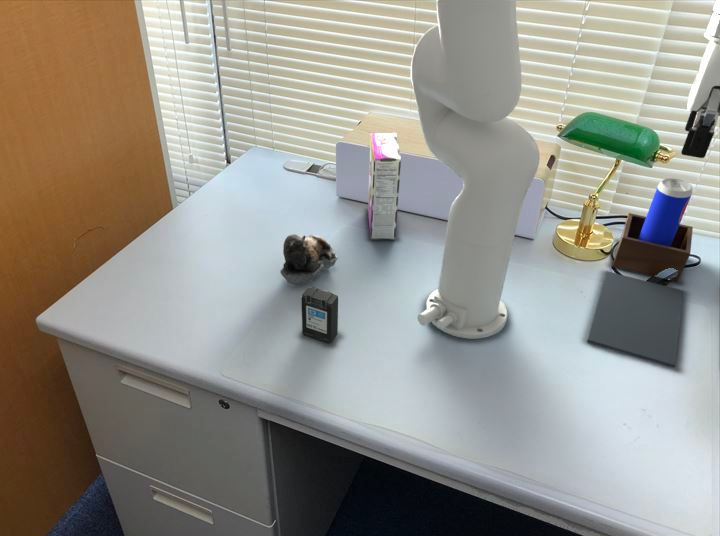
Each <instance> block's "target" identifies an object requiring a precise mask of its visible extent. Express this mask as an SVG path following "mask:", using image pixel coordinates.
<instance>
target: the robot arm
mask: <svg viewBox="0 0 720 536" xmlns="http://www.w3.org/2000/svg"><path fill="white" fill-rule="evenodd" d="M436 16H437V24H436V25H434V26H432V27H430V28H429V29H428V30H427V31H426V32H424V34H422V36H421V37H420V38H419V40H418V42H417V43H416V46H415V47H414V51H413V53H412V57H411V62H410V63H411V64H410V80H411V85H412V91H413V94H414V95H413V96H414V101H415V104H416V109H417V114H418V117H419V121H420V126H421V130H422V134H423V137H424V141H425V144H426V146H427V148H428V150H429V152H430V153H431V154H432V156H434V158H436V159H437V160H438V161H439V162H440V163H441V164H443V165H444V166H446V167H447V168H448V169H449V170H451V171H452V172H453V173H454V174H455V175H456V176H458V177H459V178H460V180H461V181H462V184H463V185H462V189H461V191H460V192H459V194H458V195H457V197H456V198H455V199H454V200H453V202H452V204H451V205H450V208H449V212H448V217H447V222H446V223H447V224H446V233H445V240H444V247H443V253H442V260H441V267H440V275H439V281H438V288H437V289H435V290H434V291H432V293H431V294H429V296H428V297H427V299H426V302H425V309H424V310H423V311H422V312H421V313H419V314H418V315H417V316H416V319H417V322H418V323H419V325H421V326H423V327H425V326H427V325H429V324H432V325H433V326H434V327H436V328H437V329H439V330H440V331H442V332H443V333H445V334H448V335H451V336H453V337H457V338H462V339H470V340H471V339H472V340H475V339H484V338H488V337H491V336H494V335H496V334H498V333H500V331H502V329H503V328H504V327H505V325H506V323H507V319H508V309H507V306H506V305H505V303H504V301H503V300H502V295H503V290H504V285H505V282H506V276H507V272H508V267H509V264H510V260H511V259H510V258H511V254H512V250H513V246H514V240H515V235H516V231H517V226H518V223H519V219H520V214H521V211H522V207H523V204H524V201H525V199H526V197H527V194H528V192H529V189H530V187H531V185H532V183H533V182H534V179H535V176H536V174H537V172H538V169H539V165H540V162H541V161H540V159H541V156H540V149H539V147H538V144H537V142H536V140H535V138H534V137H533V136H532V134H531V133H529V131H528V130H526V129H525V128H524V127H522V126H521V125H520V124H518V123H516V122H515V121H513V120H511V119H510V118H508V116H509V115H511V113H513V112H514V110H515V109H516V107H517V105H518V104H519V100H520V97H521V93H522V65H521V64H522V63H521V54H520V45H519V44H520V43H519V35H518V34H519V33H518V32H519V31H518V22H517V0H436ZM703 37H704V38H706V39H707V40H709V41H708V44H707V45H706V48H705V51H704V53H703V56H702V59H701V61H700V64H699V67H698V69H697V71H696V75H695V78H694V80H693V83H692V86H691V89H690V91H689V94H688V99H687V106H686V109H687V111H688V113H689V115H688V119H687V122H686V124H685V126H684V130H685V132H687V135H686V138H685V141H684V143H683V146H682V149H681V155H682V156H687V157H693V158H698V159H704V158H705V157H706V155H707V153H708V150H709V148H710V145H711V142H712V140H713V137H714V135H715V129H716V126H717V123H718V121H719V117H720V0H715V2H714V5H713V8H712V10H711V13H710V16H709V19H708V22H707V24H706V27H705V31H704V33H703Z"/></svg>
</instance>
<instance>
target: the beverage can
mask: <svg viewBox="0 0 720 536" xmlns="http://www.w3.org/2000/svg"><path fill="white" fill-rule="evenodd" d="M692 195H693V185H692V184H691V183H689V182H687V181H685V180H683V179H679V178H670V177H669V178H663V179H662V180H661V181H660V183H659V184H658V185H657V187H656V189H655V193H654V195H653V198H652V201H651V203H650V206H649V209H648V211H647V213H646V216H645V217H646V219H645V222H644V225H643V227H642V230H641V233H640V236H639V238H638V240H642V241H647V242H651V243H655V244H660V245H664V246H668V247H671V244H672V242H673V239H674V237H675V234H676V232H677V229H678V227H679V225H680V224H681V222H682V219H683V217H684V215H685V212H686V210H687V208H688V206H689V202H690V200H691V197H692Z"/></svg>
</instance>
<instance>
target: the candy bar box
mask: <svg viewBox="0 0 720 536" xmlns="http://www.w3.org/2000/svg"><path fill="white" fill-rule="evenodd" d="M397 135H398V134H397V133H396V132H372V133H370V142H369V143H370V145H369V171H368V172H369V173H368V197H367V198H368V199H367V200H368V202H367V214H368V224H369V226H368V227H369V233H370V234H369V236H370V240H375V241H376V240H396V237H397V236H396V235H397V223H398V222H397V220H398V208H399V193H400V183H401V181H400V178H401V165H402V156H401V151H400V145H399V140H398V136H397Z"/></svg>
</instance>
